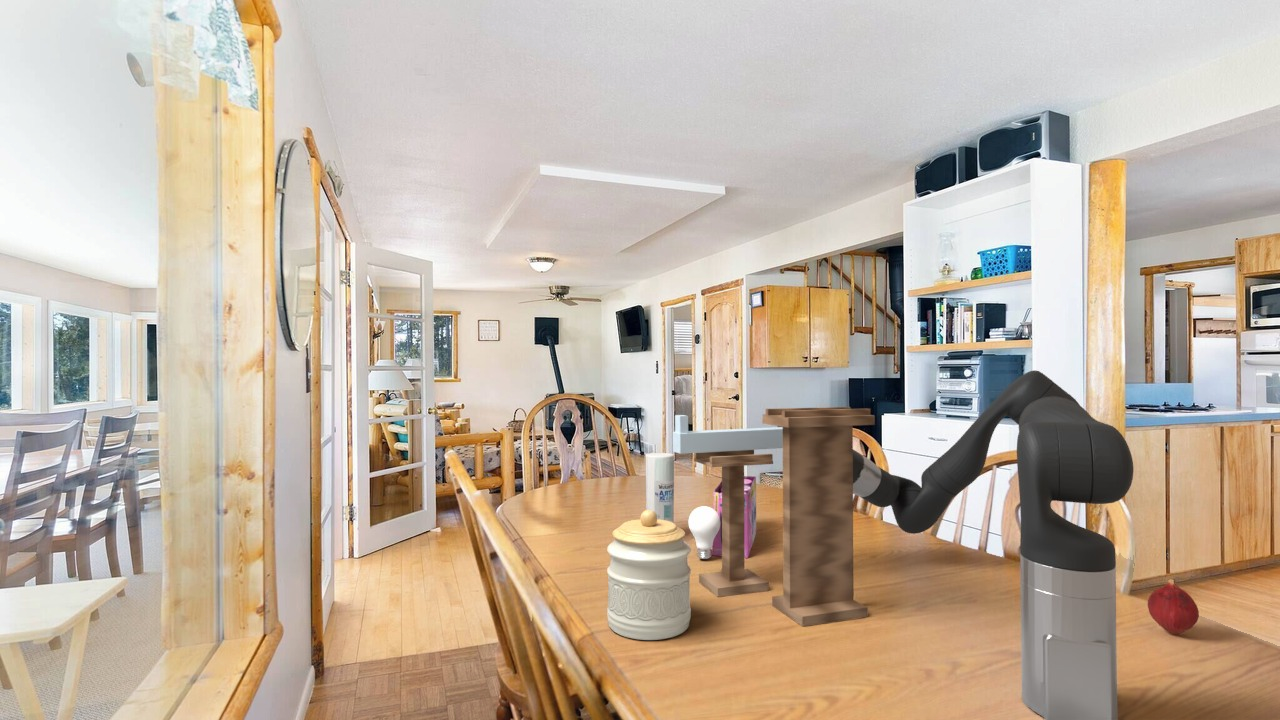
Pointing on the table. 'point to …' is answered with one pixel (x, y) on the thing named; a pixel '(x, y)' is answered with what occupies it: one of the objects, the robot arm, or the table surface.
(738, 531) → the rest post
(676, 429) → the hook bar
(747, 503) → the gum box
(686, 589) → the jar
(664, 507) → the spray can
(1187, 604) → the onion
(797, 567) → the shelf stand
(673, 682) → the table surface
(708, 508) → the light bulb
